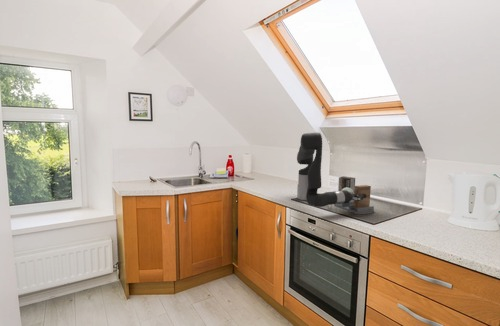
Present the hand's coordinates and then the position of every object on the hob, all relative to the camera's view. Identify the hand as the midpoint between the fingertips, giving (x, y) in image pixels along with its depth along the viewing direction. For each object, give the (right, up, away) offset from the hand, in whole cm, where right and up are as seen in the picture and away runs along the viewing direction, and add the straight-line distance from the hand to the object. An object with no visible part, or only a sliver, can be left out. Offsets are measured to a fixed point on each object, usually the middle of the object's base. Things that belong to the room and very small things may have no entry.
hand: (363, 195), depth 165 cm
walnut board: (-1, -7, +1) cm, 8 cm away
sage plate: (-6, -8, +12) cm, 16 cm away
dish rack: (-3, -9, +7) cm, 12 cm away
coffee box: (-1, -7, +27) cm, 28 cm away
